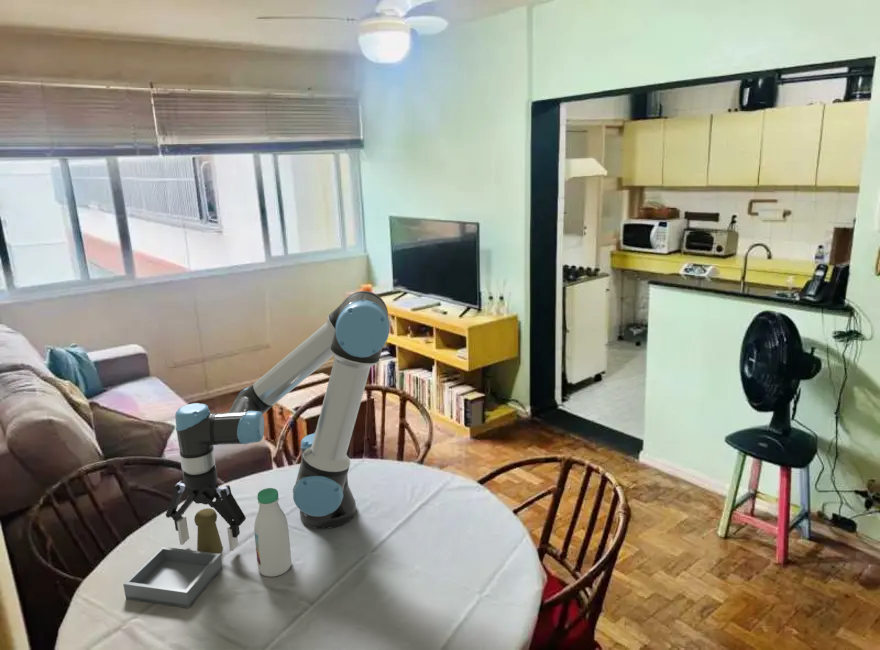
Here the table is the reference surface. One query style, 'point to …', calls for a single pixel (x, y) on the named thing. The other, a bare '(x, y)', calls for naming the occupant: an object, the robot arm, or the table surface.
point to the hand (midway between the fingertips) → (209, 544)
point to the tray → (173, 577)
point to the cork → (207, 531)
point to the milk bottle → (271, 535)
